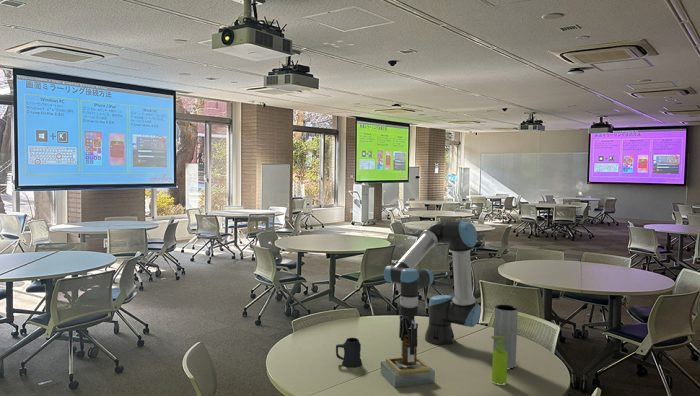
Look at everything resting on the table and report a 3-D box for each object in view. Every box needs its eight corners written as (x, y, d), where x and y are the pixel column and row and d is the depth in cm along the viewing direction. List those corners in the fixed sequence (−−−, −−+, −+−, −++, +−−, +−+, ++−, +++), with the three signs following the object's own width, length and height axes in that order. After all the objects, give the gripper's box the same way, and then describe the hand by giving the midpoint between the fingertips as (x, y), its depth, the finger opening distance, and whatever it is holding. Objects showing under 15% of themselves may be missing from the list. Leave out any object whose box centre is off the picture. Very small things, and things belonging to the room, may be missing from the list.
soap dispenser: (487, 380, 225) (489, 333, 224) (503, 379, 225) (504, 333, 224) (492, 385, 219) (494, 338, 218) (508, 385, 219) (510, 338, 218)
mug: (362, 360, 245) (362, 336, 244) (362, 367, 236) (362, 343, 235) (336, 359, 245) (336, 335, 244) (335, 367, 236) (335, 342, 235)
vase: (502, 371, 235) (504, 311, 233) (488, 363, 244) (490, 305, 243) (520, 368, 239) (522, 309, 237) (505, 360, 248) (507, 303, 247)
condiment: (420, 364, 224) (421, 336, 224) (405, 368, 220) (405, 339, 219) (409, 358, 230) (410, 331, 230) (394, 362, 226) (394, 334, 225)
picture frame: (415, 366, 239) (415, 352, 238) (434, 382, 221) (435, 367, 220) (378, 370, 233) (378, 355, 233) (394, 387, 215) (395, 372, 215)
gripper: (392, 300, 231) (390, 352, 233) (410, 312, 213) (408, 368, 215) (407, 299, 234) (406, 350, 235) (427, 310, 216) (425, 366, 217)
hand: (407, 358), depth 225 cm, fingers closed on condiment, 6 cm apart
